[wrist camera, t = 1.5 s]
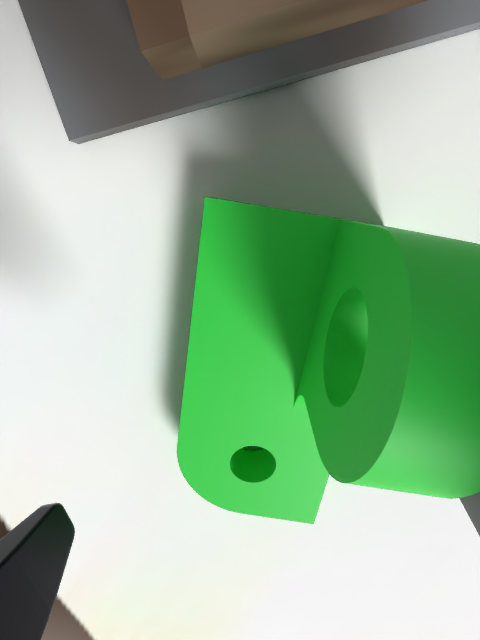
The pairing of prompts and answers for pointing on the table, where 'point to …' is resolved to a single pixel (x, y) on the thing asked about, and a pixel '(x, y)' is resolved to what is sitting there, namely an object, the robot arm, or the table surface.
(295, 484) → the mechanical part
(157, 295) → the table surface
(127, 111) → the seat
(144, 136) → the table surface
